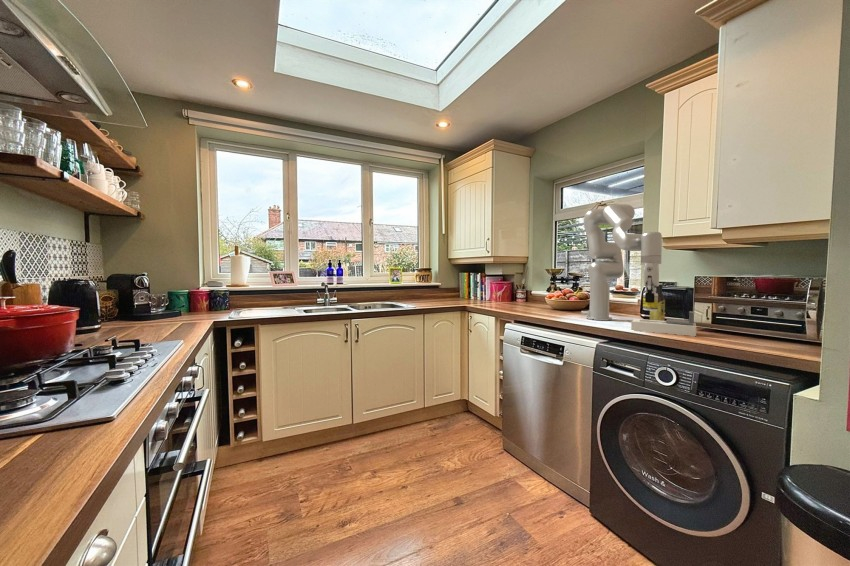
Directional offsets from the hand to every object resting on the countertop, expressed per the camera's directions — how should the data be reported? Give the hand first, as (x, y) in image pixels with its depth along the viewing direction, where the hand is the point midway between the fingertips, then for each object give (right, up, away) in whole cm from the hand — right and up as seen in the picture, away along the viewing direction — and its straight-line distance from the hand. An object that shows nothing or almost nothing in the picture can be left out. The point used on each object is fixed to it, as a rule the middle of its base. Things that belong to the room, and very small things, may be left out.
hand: (650, 301), depth 148 cm
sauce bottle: (+18, -12, +23) cm, 32 cm away
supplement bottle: (0, -4, 0) cm, 4 cm away
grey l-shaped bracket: (+8, -8, -6) cm, 13 cm away
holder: (+4, -13, -2) cm, 13 cm away
